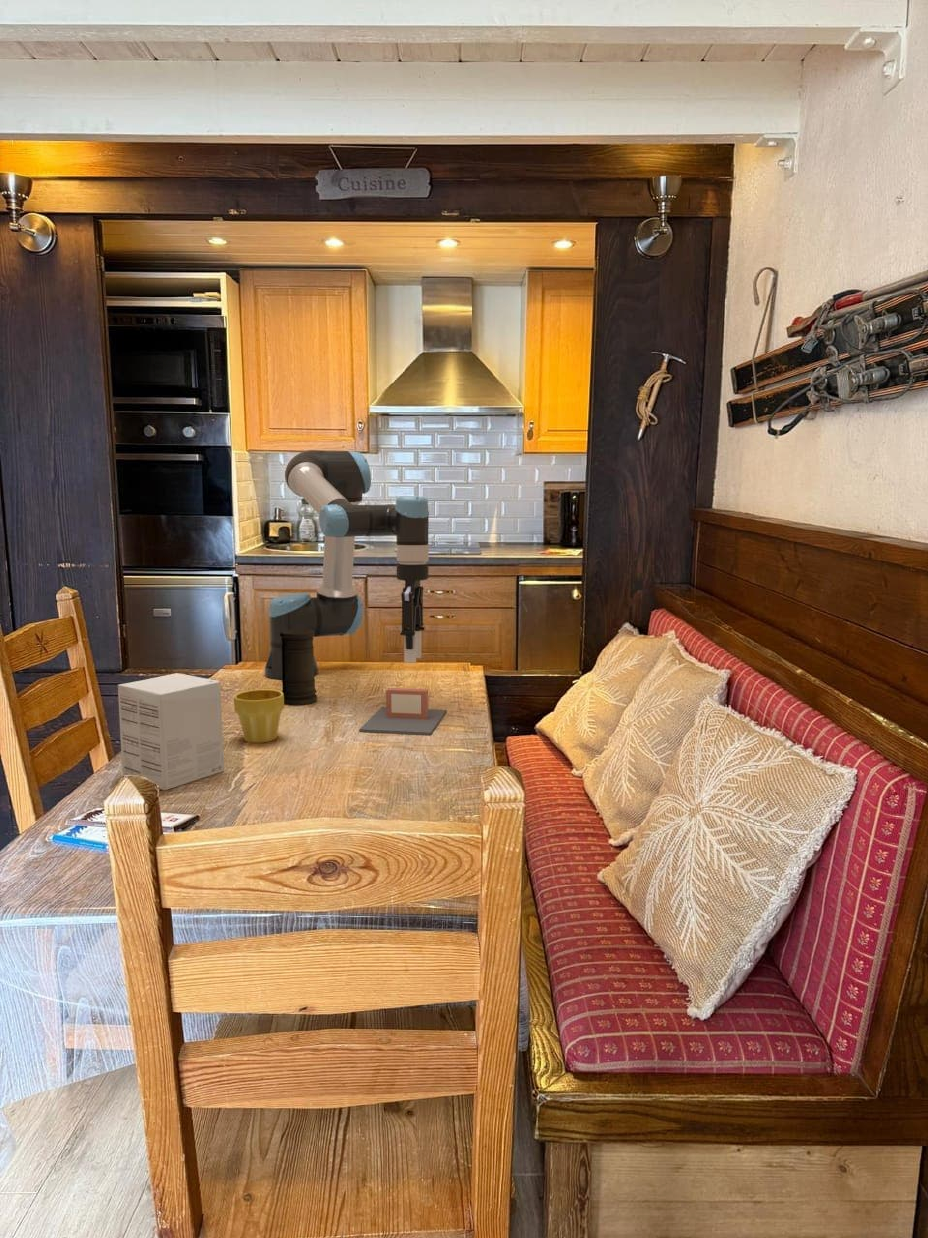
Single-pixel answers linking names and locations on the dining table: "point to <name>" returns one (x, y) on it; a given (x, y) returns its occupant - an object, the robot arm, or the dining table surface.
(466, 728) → the dining table surface
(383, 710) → the mat
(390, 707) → the card box
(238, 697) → the plant pot
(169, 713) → the supplement box
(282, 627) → the robot arm
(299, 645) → the container
